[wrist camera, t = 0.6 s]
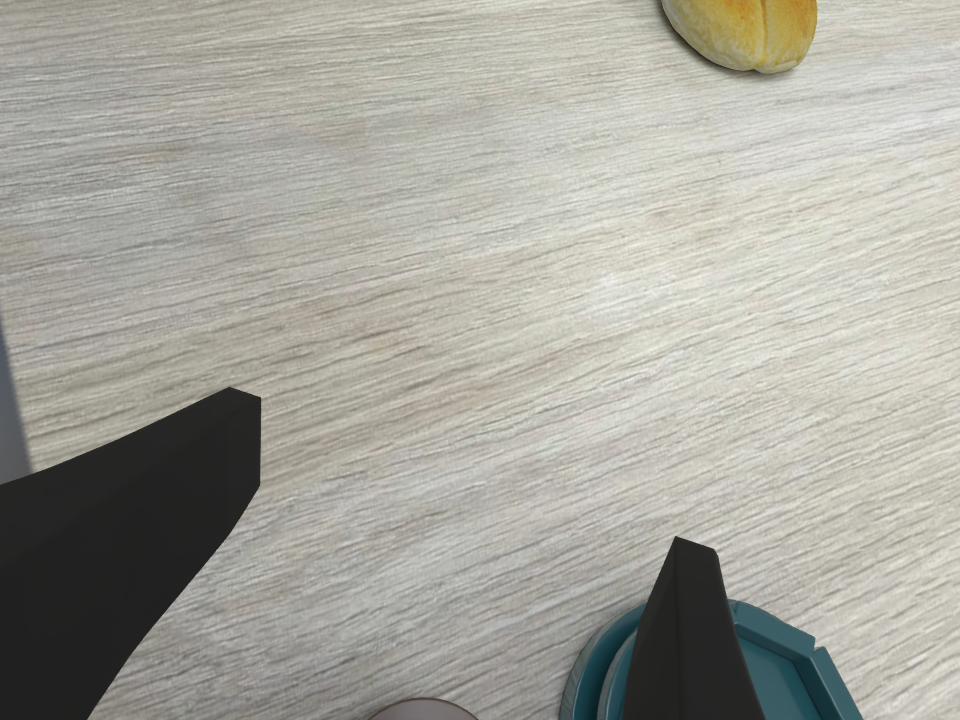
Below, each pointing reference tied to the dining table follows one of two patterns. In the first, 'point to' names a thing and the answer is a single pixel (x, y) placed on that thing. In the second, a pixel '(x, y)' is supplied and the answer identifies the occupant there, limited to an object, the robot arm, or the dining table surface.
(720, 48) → the bread roll
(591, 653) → the stand
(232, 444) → the robot arm
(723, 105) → the dining table surface
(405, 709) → the cylinder
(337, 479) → the dining table surface
